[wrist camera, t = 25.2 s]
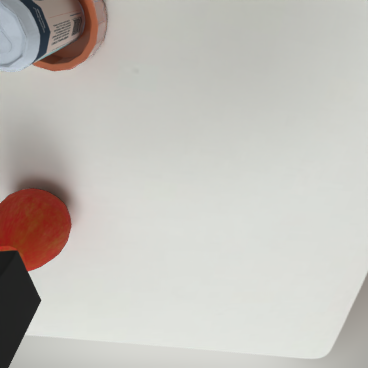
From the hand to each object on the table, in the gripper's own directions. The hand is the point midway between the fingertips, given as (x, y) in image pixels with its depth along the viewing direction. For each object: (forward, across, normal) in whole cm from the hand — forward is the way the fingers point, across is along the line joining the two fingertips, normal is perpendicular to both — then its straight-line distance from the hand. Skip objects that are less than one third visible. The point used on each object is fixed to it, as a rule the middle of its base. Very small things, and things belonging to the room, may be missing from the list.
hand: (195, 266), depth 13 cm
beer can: (+25, -12, +8) cm, 28 cm away
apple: (+25, -20, -12) cm, 34 cm away
